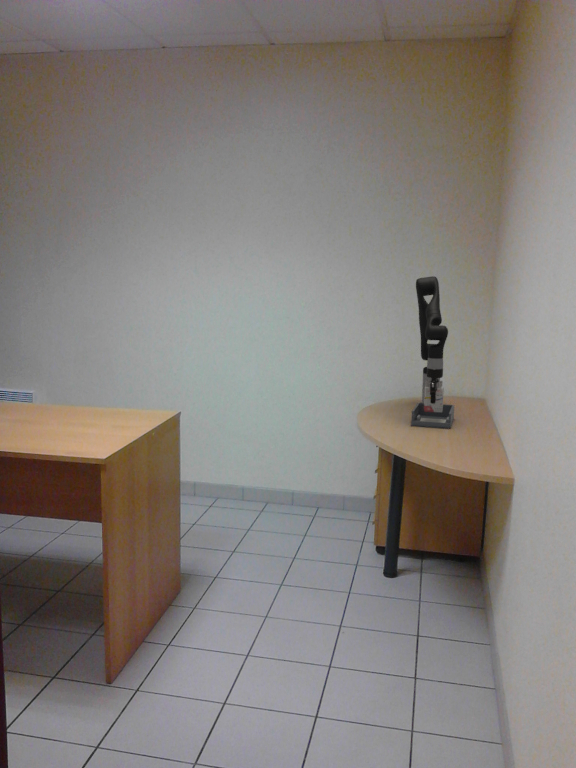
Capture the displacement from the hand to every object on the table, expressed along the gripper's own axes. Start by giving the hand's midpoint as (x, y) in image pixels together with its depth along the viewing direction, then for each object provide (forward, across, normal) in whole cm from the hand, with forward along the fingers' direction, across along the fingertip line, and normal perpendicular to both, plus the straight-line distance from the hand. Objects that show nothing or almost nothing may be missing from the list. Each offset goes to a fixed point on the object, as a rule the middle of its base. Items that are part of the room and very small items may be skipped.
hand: (433, 401), depth 312 cm
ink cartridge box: (+5, 0, 0) cm, 5 cm away
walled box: (+10, 0, 0) cm, 10 cm away
